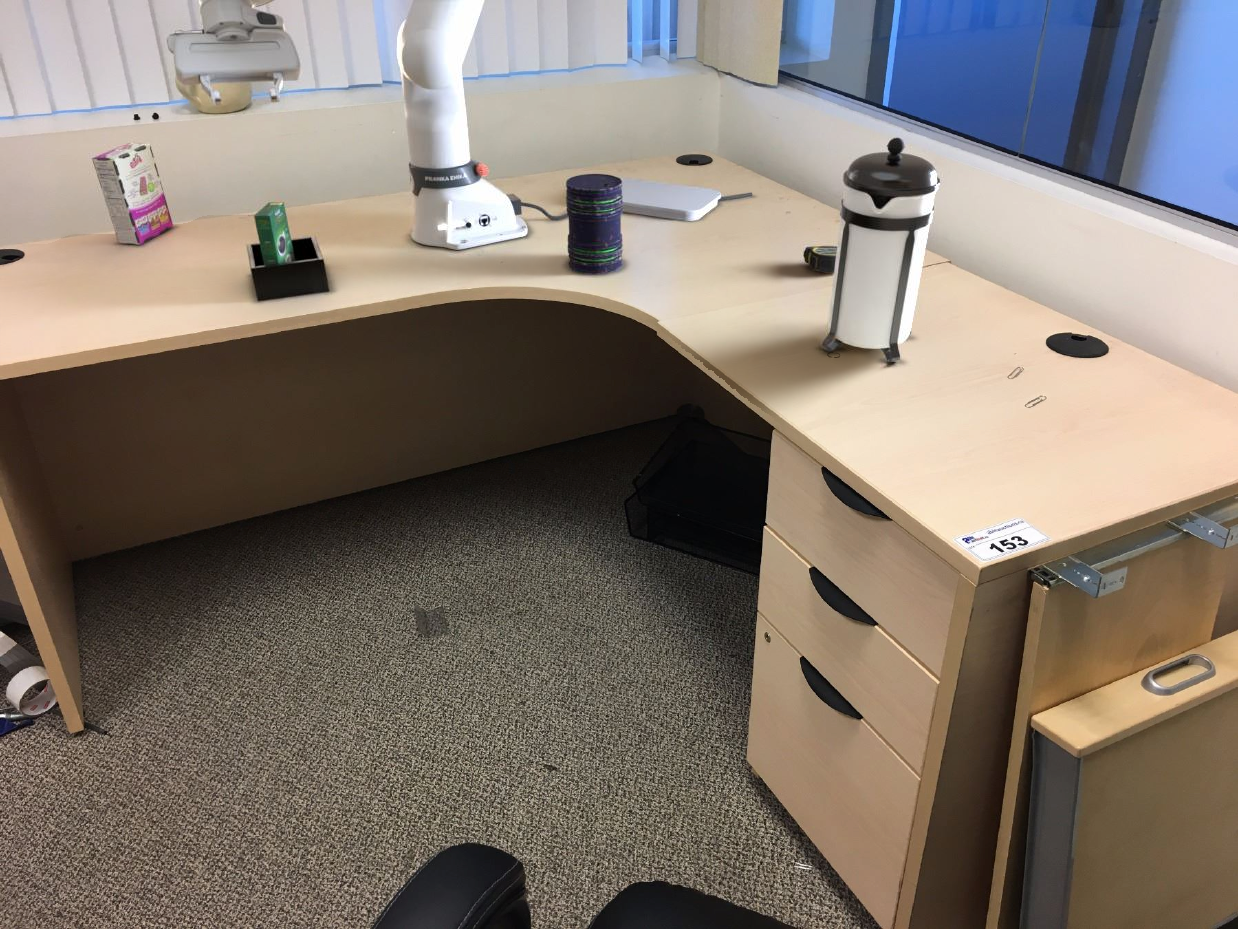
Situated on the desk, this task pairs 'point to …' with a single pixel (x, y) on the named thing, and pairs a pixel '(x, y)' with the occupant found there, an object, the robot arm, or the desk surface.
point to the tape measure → (821, 258)
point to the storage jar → (594, 223)
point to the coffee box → (274, 234)
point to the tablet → (667, 199)
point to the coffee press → (880, 249)
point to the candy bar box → (133, 193)
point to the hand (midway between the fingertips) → (246, 101)
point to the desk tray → (289, 271)
